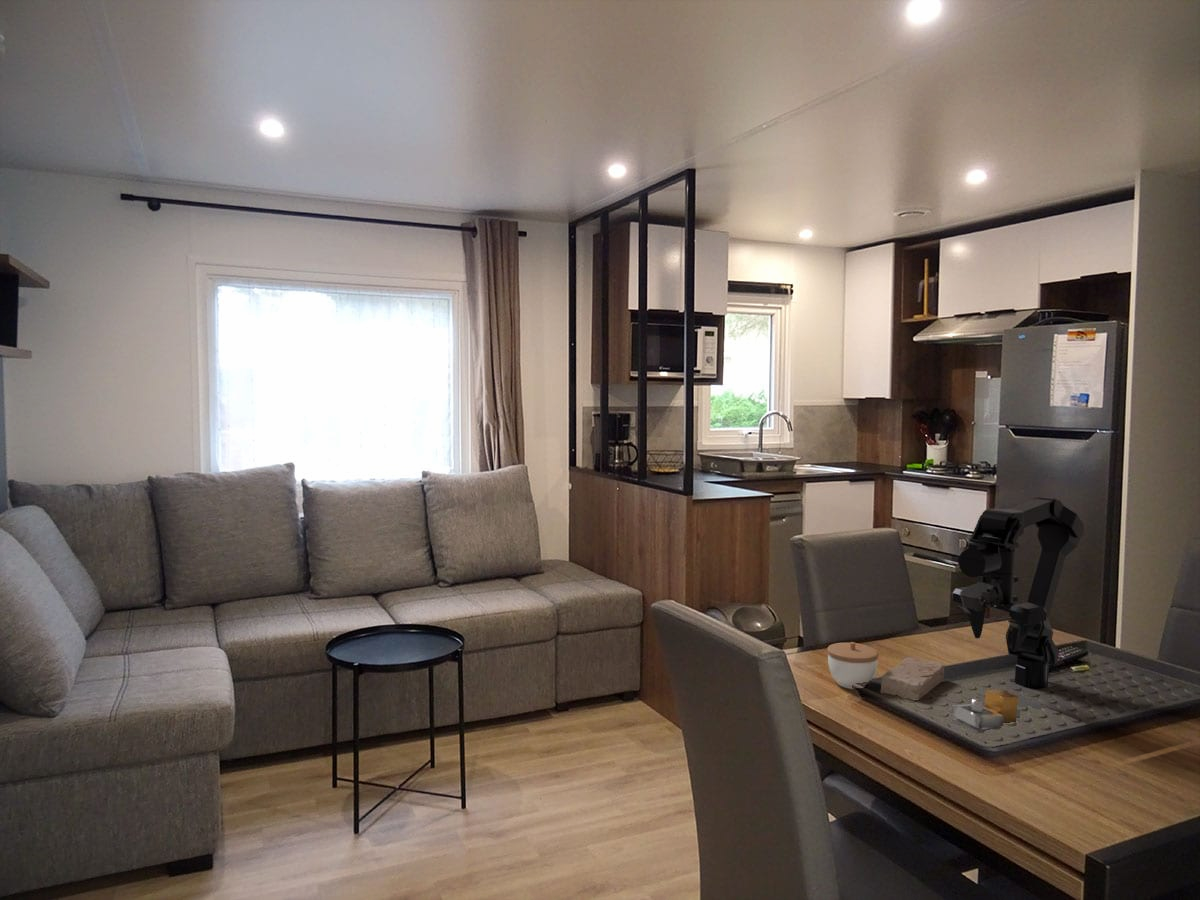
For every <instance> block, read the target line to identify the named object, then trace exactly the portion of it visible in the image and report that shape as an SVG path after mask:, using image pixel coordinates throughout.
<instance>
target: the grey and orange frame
mask: <svg viewBox="0 0 1200 900" xmlns="http://www.w3.org/2000/svg"><path fill="white" fill-rule="evenodd" d="M984 697H985V698H984V702H985V705H984V707H983V715H977V714H975V713H973V712H971V703H966V704H963V703H962V704H951V709H952V713H951V715H952V716H954V717H956V718H958V719H960V720H962V721H964V722H966V723H969V724H971V725H973V726H975V727H977V728H986V727H998V726H1003V723H1010V722H1016V718H1020V710H1017V705H1018V696H1017V695H1015V694H1013V693H1010V692H1008V691H1005V690H1003V689H989V690H988V689H986V690H985V696H984Z"/></svg>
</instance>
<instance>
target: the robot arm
mask: <svg viewBox="0 0 1200 900" xmlns="http://www.w3.org/2000/svg"><path fill="white" fill-rule="evenodd" d="M1033 525H1034V526H1035V527H1036V529H1037V534H1036V537H1037V540H1038V543H1039V544H1040V548H1041V549H1040V554H1039V556H1038V561H1037V564H1036V566H1035V569H1034V570H1035V571H1034V574H1033V578H1032V580H1031V585H1030V589H1029V592H1028V596H1027V598H1026V602H1022V603H1014V602H1018V599H1019V598H1018V596H1017V595H1015V594H1014V588H1015V587H1014V585H1015V584H1014V583H1018V582H1019V576H1016V575H1015V559H1016V558H1015V557H1016V549H1018V548H1020V543H1019V542H1018V541H1017V540H1018V539H1019V538H1020V537H1021V536H1023V535H1024V534H1025V528H1028V527H1030V526H1033ZM1084 532H1085V524H1084V523H1083V522H1082V520H1081V518H1080V517H1079V515H1078V514H1077V513H1076V512H1074V511H1072V510H1071V509H1070V508H1068V507H1067V506H1065V505H1064V504H1063V502H1062V501H1061V500H1060V499H1057V498H1053V497H1045V496H1038V497H1034V498H1033V499H1032V500H1030V501H1029V500H1028V501H1027V502H1023V503H1021V504H1019V505H1015V506H1013V507H1010V508H988V509H985V510H984V511H982V513H981V515H980V516H979V518H978V520H977V522H976V525H975V527H974V529H973V532H972V534H971V536H970V538H969V542H968V545H967V546H968V547H967V549H964V550H962V552H961V553H960V554H959V557H958V559H957V560H958V561H957V562H958V566H959V567H958V568H959V569H960V570H961V572H962V573H963V574H964V575H965V576H967V577H969V578H977V582H976V583H975V584H971V585H969V586H964V587H956V588H955V589H954V590H953V592H952V595H951V598H952V600H951V601H952V602H954V603H956V605H957V607H959V608H961V609H962V610H963V612H965V613H966V616H967V618H968V622H969V624H970V627H971V629H972V633H973V636H974V638H975V639H980V638H981V635H982V633H983V627H984V622H985V616H986V611H987V608H993V609H994V608H995V609H998V610H1001V611H1004V612H1007V613H1008V615H1009V617H1010V619H1008V620H1007V622H1008V623H1009V626H1008V628H1007V631H1006V633H1005V641H1006V647H1007V653H1008V655H1010V656H1011V655H1012V656H1016V659H1015V660H1016V662H1015V663H1016V664H1015V665H1014V666H1015V668H1014V678H1010V679H1009V681H1010V682H1012V683H1015V684H1017V685H1020V686H1021V687H1024V688H1025V687H1026V688H1028V689H1030V690H1040V689H1041V690H1042V689H1046V688H1052V687H1055V684H1053V683H1049V671H1050V670H1049V669H1050V667H1049V665H1057V662H1058V661H1059V660H1058V659H1059V657H1060V656H1059V655H1060V650H1059V649H1058V647H1057V645H1056V644H1055V642H1054V640H1053V636H1054V630H1053V628H1052V625H1051V621H1050V619H1049V618H1050V614H1051V611H1052V606H1053V603H1054V599H1055V597H1056V592H1057V589H1058V584H1059V581H1060V579H1061V574H1062V570H1063V567H1064V563H1065V560H1066V557H1067V556H1068V555H1069V554H1071V553H1072V552H1074V550H1075V549H1077V547H1078V545H1079V543H1080V540H1081V538H1082V537H1083V536H1084Z"/></svg>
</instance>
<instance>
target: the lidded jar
mask: <svg viewBox="0 0 1200 900" xmlns="http://www.w3.org/2000/svg"><path fill="white" fill-rule="evenodd" d="M826 649H827V663H828V670H829V672H830V675H831V677H832V678H833V679H834V680H835V681H836V682H837V685H839V686H840V687H841V688H845V689H849V690H854V689H853V688H852V685H853V684H854V683H863V682H868V681H870V680H872V679H873V680H874V678H875V676H876V674H877V669H878V659H879V652H878V650H877V649H875V648H874V647H872V646H869V645H867V644H862V643H856V642H854V641H851V642H837V643H831V644H830V645H828V647H827V648H826ZM873 680H872V681H873Z"/></svg>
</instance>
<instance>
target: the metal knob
mask: <svg viewBox="0 0 1200 900" xmlns="http://www.w3.org/2000/svg"><path fill="white" fill-rule="evenodd" d="M970 701H971V703H970V704H971V712H973V713H975V714H977V715H983V702H984V700H983V699H981V698H978V697H972V698H971V700H970ZM952 721H953V722H956V723H958V724H960V725H962V726H964V727H967V728H969V729H971V730H974V731H976V732H981V731H986V730H990V729H996V728H1001V726H998V727H986V728H977V727H975V726H973V725H971V724H969V723H966V722H964V721H962V720H960V719H958V718H954V719H952Z"/></svg>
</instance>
